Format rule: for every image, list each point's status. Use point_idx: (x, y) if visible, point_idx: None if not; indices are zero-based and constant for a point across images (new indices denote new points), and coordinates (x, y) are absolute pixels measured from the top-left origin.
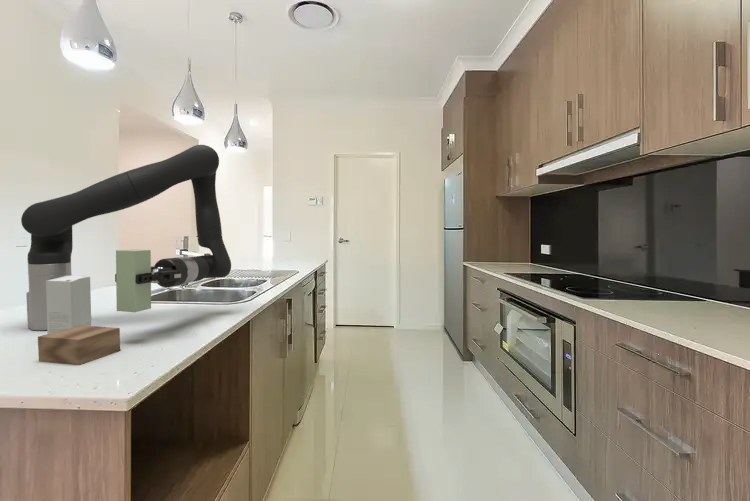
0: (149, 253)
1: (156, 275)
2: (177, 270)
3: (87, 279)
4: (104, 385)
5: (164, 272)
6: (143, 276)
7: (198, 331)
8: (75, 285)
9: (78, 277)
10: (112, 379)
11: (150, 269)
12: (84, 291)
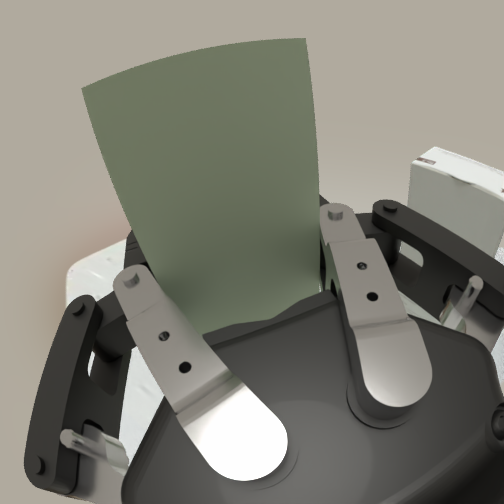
0: (95, 118)
1: (107, 300)
2: (37, 456)
3: (495, 204)
4: (105, 265)
5: (61, 323)
6: (130, 236)
7: None
8: (429, 185)
9: (473, 177)
10: (109, 275)
11: (145, 256)
12: (465, 230)
